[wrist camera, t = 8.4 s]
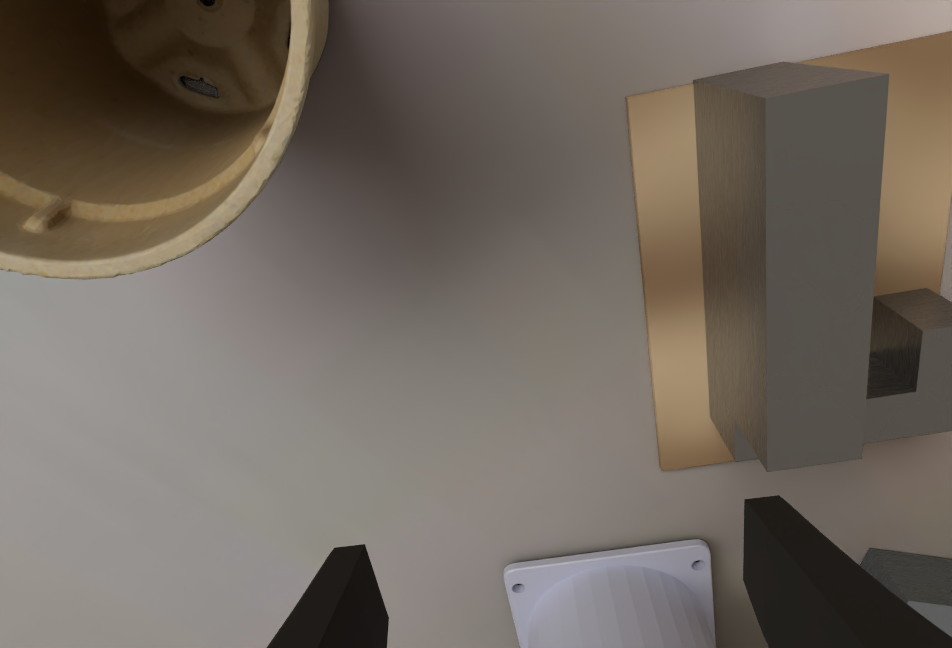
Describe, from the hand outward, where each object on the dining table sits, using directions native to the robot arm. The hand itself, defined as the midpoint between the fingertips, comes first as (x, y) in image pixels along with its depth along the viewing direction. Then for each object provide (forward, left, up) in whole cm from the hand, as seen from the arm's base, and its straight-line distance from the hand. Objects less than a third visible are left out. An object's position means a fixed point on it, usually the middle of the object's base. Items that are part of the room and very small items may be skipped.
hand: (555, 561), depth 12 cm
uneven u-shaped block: (+1, -9, -10) cm, 13 cm away
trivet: (0, -8, -10) cm, 13 cm away
